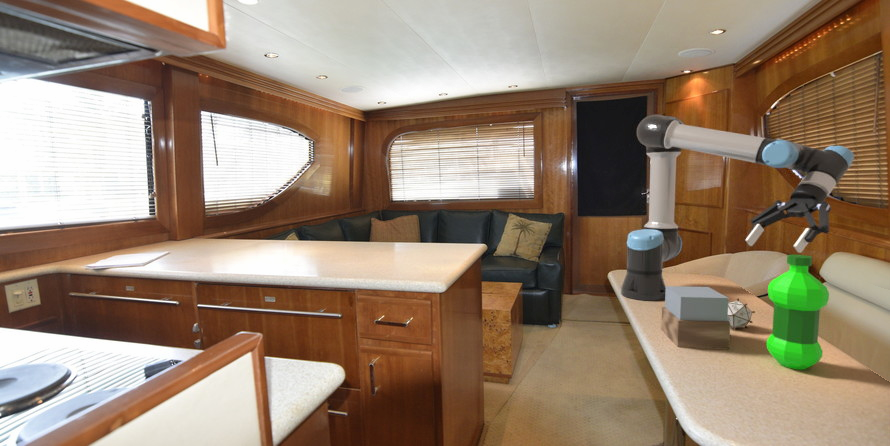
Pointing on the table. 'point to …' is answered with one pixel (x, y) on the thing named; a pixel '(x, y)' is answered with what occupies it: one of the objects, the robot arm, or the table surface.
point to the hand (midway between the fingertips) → (771, 246)
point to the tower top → (696, 303)
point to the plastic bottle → (796, 315)
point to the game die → (738, 314)
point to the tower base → (695, 332)
